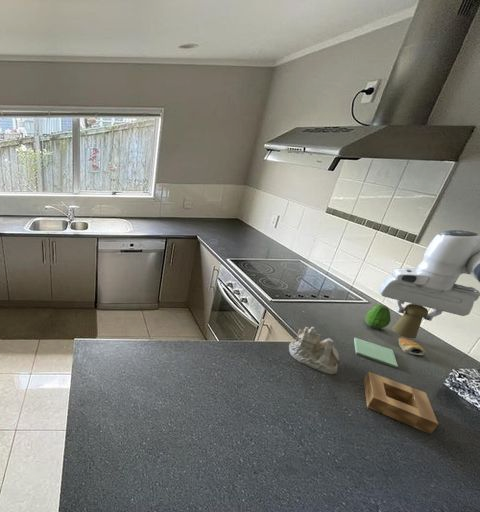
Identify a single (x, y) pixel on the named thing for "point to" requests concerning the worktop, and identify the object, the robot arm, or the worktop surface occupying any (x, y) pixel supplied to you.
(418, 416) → the holder
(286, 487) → the worktop surface
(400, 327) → the cork
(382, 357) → the mat
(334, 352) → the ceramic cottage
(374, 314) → the avocado
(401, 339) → the pastry
